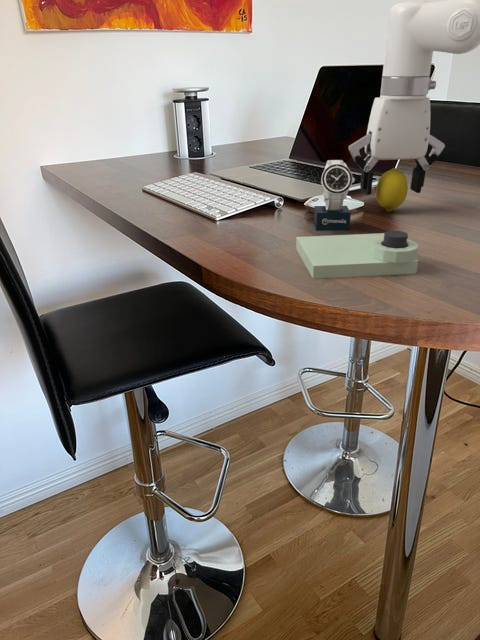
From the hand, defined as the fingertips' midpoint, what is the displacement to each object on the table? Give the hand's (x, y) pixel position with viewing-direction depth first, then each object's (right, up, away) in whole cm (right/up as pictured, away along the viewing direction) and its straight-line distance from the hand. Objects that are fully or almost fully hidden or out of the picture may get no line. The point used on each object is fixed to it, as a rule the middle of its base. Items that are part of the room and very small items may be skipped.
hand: (390, 191), depth 92 cm
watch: (-12, -8, -6) cm, 16 cm away
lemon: (0, -3, +2) cm, 4 cm away
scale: (-12, -15, -20) cm, 28 cm away
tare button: (-7, -14, -25) cm, 29 cm away
